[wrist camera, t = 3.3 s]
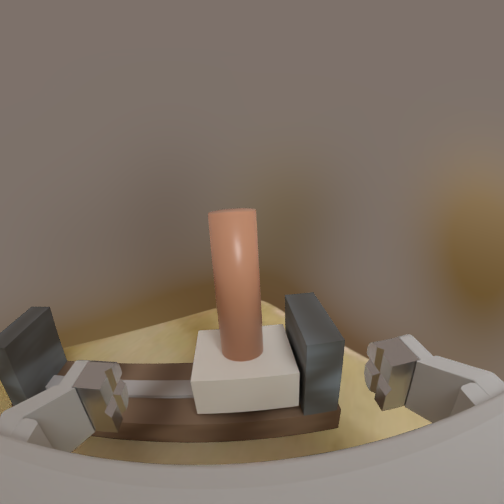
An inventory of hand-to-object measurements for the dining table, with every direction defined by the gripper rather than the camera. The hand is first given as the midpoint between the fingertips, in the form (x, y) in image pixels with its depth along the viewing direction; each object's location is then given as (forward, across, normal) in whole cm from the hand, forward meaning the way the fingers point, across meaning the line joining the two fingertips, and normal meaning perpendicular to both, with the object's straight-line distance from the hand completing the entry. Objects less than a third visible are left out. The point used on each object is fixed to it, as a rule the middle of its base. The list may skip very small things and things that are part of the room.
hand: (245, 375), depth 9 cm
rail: (+12, +7, +12) cm, 18 cm away
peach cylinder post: (+12, 0, +9) cm, 15 cm away
